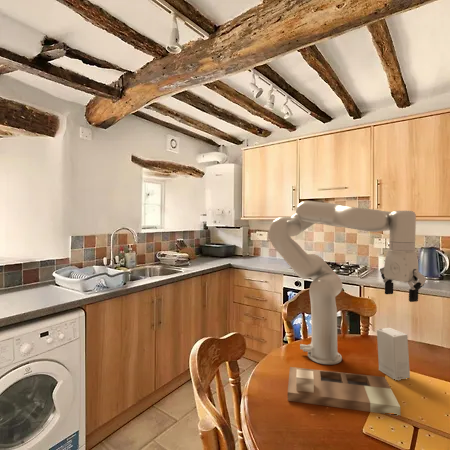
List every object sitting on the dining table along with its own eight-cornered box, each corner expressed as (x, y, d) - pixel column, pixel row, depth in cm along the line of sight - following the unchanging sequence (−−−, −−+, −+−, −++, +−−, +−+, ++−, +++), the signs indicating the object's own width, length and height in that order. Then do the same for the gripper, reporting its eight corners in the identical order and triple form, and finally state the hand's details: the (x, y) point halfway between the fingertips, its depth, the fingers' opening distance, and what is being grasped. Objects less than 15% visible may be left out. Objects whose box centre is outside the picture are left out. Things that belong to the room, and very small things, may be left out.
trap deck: (287, 400, 89) (287, 392, 89) (290, 374, 104) (289, 366, 104) (400, 415, 81) (400, 406, 81) (384, 384, 97) (384, 377, 97)
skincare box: (410, 379, 100) (409, 335, 100) (395, 381, 98) (394, 336, 98) (391, 367, 108) (390, 326, 108) (376, 369, 107) (376, 328, 106)
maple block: (296, 390, 89) (296, 377, 89) (296, 381, 94) (296, 369, 94) (313, 392, 88) (313, 379, 88) (313, 383, 93) (313, 371, 93)
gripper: (373, 245, 108) (372, 292, 108) (416, 250, 91) (415, 305, 92) (389, 244, 110) (388, 290, 111) (434, 249, 94) (433, 303, 94)
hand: (400, 297), depth 101 cm, fingers open, 9 cm apart
